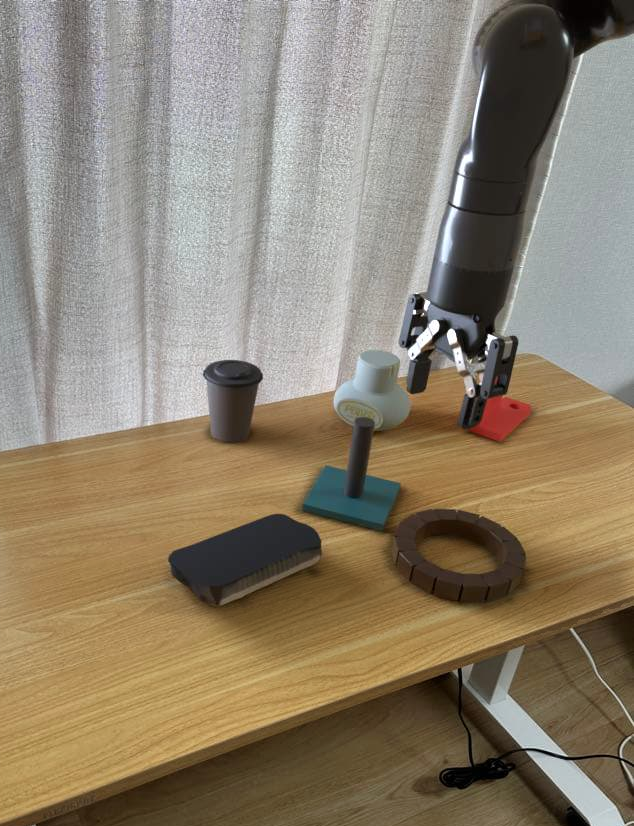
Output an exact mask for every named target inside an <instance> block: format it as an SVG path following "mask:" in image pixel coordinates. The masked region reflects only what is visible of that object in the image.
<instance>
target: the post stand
mask: <svg viewBox="0 0 634 826" xmlns="http://www.w3.org/2000/svg"><path fill="white" fill-rule="evenodd" d="M374 426H375V422H374V420H372V419H370V418H367V417H359V418H356V419H355V420H354V427H353V426H352V434H351V440H350V447H349V452H348V459H347V465H346V469H344V468H340V467H335V466H331V465H327V464H326V465H325V466H324V467H323V469H322V470H321V471H320V473H319V476H318V477H317V479H316V481H315V482H314V484H313V486H312V488H311V489H310V491H309V492H308V494H307V496H306V498H305V499H304V501H303V503H302V506H301V511H302V512H306V513H310V514H314V515H318V516H322V517H326V518H330V519H333V520H334V519H335V520H337V521H341V522H344V523H345V522H346V523H349V524H353V525H357V526H361V527H365V528H369V529H372V530H377V531H380V532H382V531H383V530H384V528H385V525H386V523H387V521H388V519H389V515H390V513H391V512H392V508H393V506H394V505H395V502H396V499H397V497H398V494H399V492H400V490H401V485H402V484H401V482H398V481H394V480H390V479H385V478H381V477H377V476H373V475H368V474H367V473H368V472H367V471H368V466H369V460H370V454H371V450H372V443H373V437H374V432H375V431H374Z"/></svg>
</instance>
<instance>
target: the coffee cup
mask: <svg viewBox="0 0 634 826" xmlns="http://www.w3.org/2000/svg"><path fill="white" fill-rule="evenodd" d="M202 377H203V379H204V380H205V381H206V393H207V403H208V404H207V405H208V412H209V413H208V415H209V423H210V424H209V425H210V426H209V427H210V434H211V436H212V437H213V438H214V439H216V440H217V441H220V442H224V443H240V442H243V441H245V440H246V439H248V438H249V436H250V431H251V426H252V421H253V417H254V416H253V415H254V411H255V407H256V406H255V405H256V400H257V395H258V391H259V384H260V383H261V382H262V381H263V379H264V374H263V372H262V371H261V369H260V368H259V367H258V366H257V365H255V364H253V363H252V362H248V361H243V360H239V359H221V360H217V361H213V362H211V363H209V364H208V365H206V367H205V369H204V370H203V372H202Z"/></svg>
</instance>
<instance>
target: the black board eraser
mask: <svg viewBox="0 0 634 826" xmlns="http://www.w3.org/2000/svg"><path fill="white" fill-rule="evenodd" d="M322 555H323V550H322V539H321V537H320V535H319V533H318V531H317V530H316V529H315V528H314V527H312V526H310V525H309V524H306V523H303V522H300V521H298V520H295V519H293V518H292V517H291V516H290V515H287V514H284V513H272V514H269V515H266V516H263V517H261V518H258V519H256V520H253V521H250V522H248V523H245V524H241V525H239V526H237V527H234V528H232V529H229V530H227V531H224V532H221V533H219V534H217V535H214V536H211V537H209V538H206V539H203V540H201V541H198V542H196V543H193V544H190V545H188V546H184V547H181V548H177V549H175V550H173V551H172V552H171V553H170V554H169V555H168V557H167V558H168V559H167V562H168V563H169V565H170V574H171V575H172V577H173V578H175V580H177V581H178V582H179V583H180V584H183V585H185V586H186V587H188V588H189V589H190V590H192V592H193V593H194V594H195V595H196V596H197V597H198V598H199V600H200V601H201V602H202V603H206V604H208V605H211V606H215V607H221V606H224V605H226V604H229V603H231V602H233V601H236V600H239V599H242V598H244V597H245V596H246V595H249V594H252V593H253V592H256V591H257V590H259V589H262V588H264V587H267V586H269V585H271V584H274V583H276V582H278V581H280V580H282V579H284V578H287V577H289V576H292V575H293V574H296V573H297V572H299V571H302V570H304V569H307V568H309V567H310V566H314V565H315V564H317V563H318V562H319V560H320V558H321V556H322Z"/></svg>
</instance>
